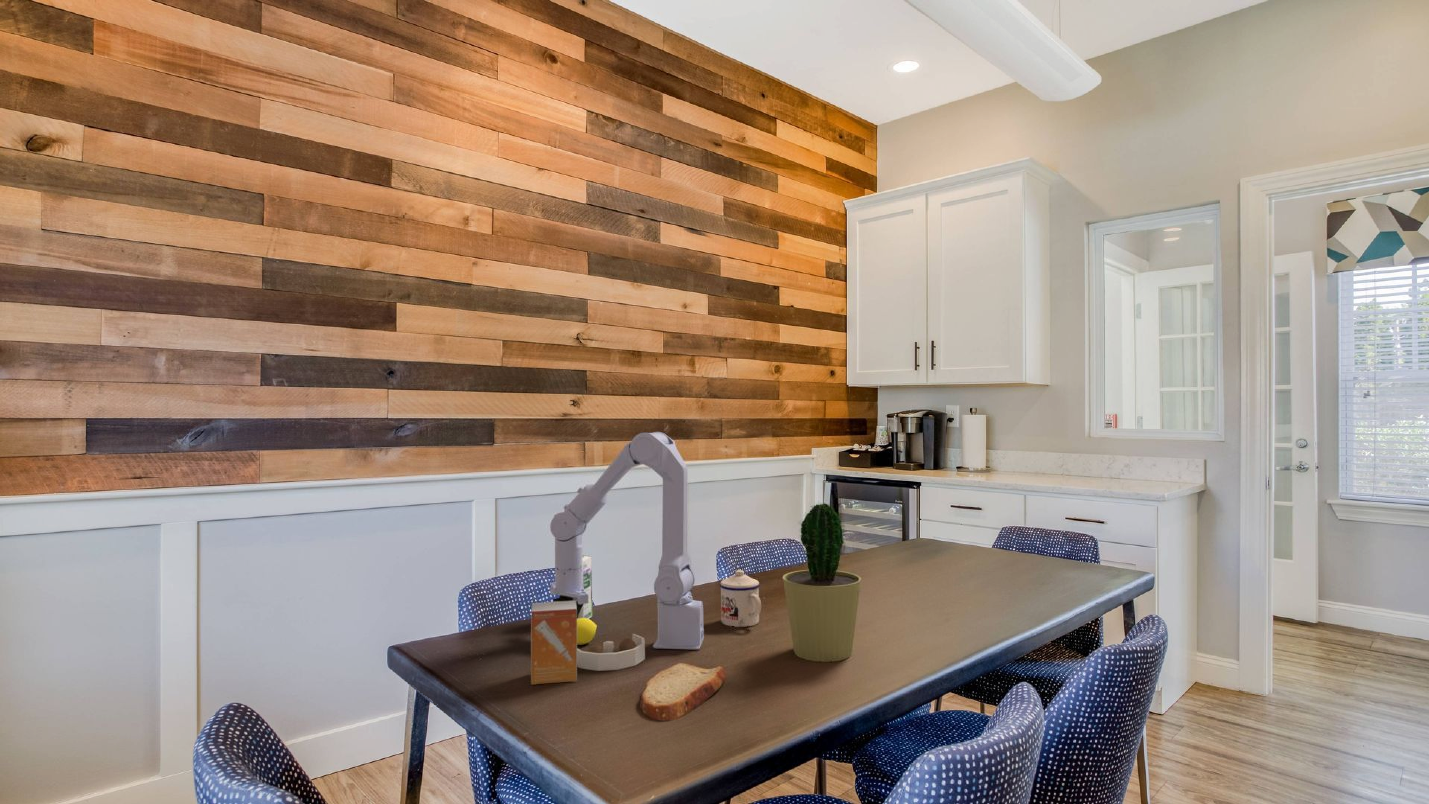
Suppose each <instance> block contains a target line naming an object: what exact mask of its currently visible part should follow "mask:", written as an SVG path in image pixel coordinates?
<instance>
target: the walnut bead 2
mask: <svg viewBox="0 0 1429 804" xmlns="http://www.w3.org/2000/svg"><path fill="white" fill-rule="evenodd" d="M635 647H636V644H635V642H634V641H633V640H632V638H629V637H627V638H623V639H622V640H621V641H620V642H619V644H618V652H621V651H626V650H630V649H633V648H635Z"/></svg>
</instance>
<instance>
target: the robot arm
mask: <svg viewBox="0 0 1429 804" xmlns="http://www.w3.org/2000/svg"><path fill="white" fill-rule="evenodd" d="M641 465H644V466H646V467H649V468H650V469H652V470H653V471H654V472H655V473H656V474H657V475H659V476H660V477H661V479H662V526H661V527H662V530H661V531H662V532H661V533H662V536H661V538H662V540H661V541H662V542H661V543H662V546H661V547H662V548H661V557H660V561H659V565H658V571H657V572H658V574H657V577H656V578H655V580H654V584H653V591H654V594H655V596H656V597H657V639H656V641H655V642H654V644H653V645H652V648H653V649H666V650H667V649H668V650H670V649H671V650H700V648H701V646H702V645H703V642H704V638H705V636H704V635H705V629H704V604H703V601H701V600H694V599H693V595H692V593H691V590H692V588H693V587H694V585H695V581H696V577H695V574H694V572H693V569H692V566H691V557H690V556H689V554H688V466H687V464H686V461H684V459H683V457H682V455H681V454H680V452H679V450H678V449H677V446H676V441H674V440H673V439H672V438H671V437H670V436H668V435H667V434H665V433H664V432H661V431H653V432H641V433H638V434H636V435H635V436H634V437H633V438H632V440H631V442H629V441H628V443H627V444H625V446H624V447H623V448H622V449H621V451H620V452H619V453H618V455H617V456H616V457H615V459H614V460H613V461H612V462H611V463H610V465H609V466H608V467H607V468H606V469H605V470H604V472H603V473H602V474H601V475H600V477H599V478H598V479H597V480H596V482H595V483H594V484H586V485H585V486H580V487H579V488H578V489H577V491H576V493H578V494H577V495H576V496H575V497H574V499H572V500H571V501H570V503H567V504H565V505H564V506H563V509H564V512H558V513H556V514H554V516H553V518H552V519H551V522H550V526H549V527H550V532H551V535H552V536H553V537H554V577H555V578H554V582H551V583H550V591H549V593H550V594H551V595H553V596H556V595H559V596H558V597H556V598H553V599H552V602H556V601H574V600H575V601H576V606H577V619H578V616H579V613H580V610H581V608H582V606H583V604H586V603H588V594H587V593H586V592H585V590H584V588H583V587H582V555H583V535H584V533H585V531H586V530H587V525H588V524H589V523H590V522H591V520H592V519H594V517H595V516H596V515H597V514H598V512H599V511H600V510H601V509H602V508H603V507H604V506H605V505H606V504H607V494H608V493H609V492H610V491H611V489H612V488H614V487H615V485H616V484H618V482H620V481H621V480H622V478H623V477H624V476H625V475H626V474H627V473H629V471H630V470H631V469H633V468H635V467H638V466H639V467H640V466H641Z"/></svg>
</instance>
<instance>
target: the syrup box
mask: <svg viewBox="0 0 1429 804" xmlns="http://www.w3.org/2000/svg"><path fill="white" fill-rule="evenodd" d="M592 572H593V571H592V556H590V555H584V554H582V587H583V588H584V590H585V592H586V593H587V594H588V603H586V604H583V606H582V608H581V610H580V613H579V616H578V619H579V618H587V619H590V620H591V618H593V616H594V615H593V614H594V613H593V582H592V581H593V577H592V575H593V573H592Z"/></svg>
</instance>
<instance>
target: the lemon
mask: <svg viewBox="0 0 1429 804" xmlns="http://www.w3.org/2000/svg"><path fill="white" fill-rule="evenodd" d="M597 627H598V625H597V624H596V623H595V622H594V621H592V620H591V618H590V619H587V618H579V619H577V646H583V645H585V644H587V643H590V642H591V641H592V640H593V639H594V638H595V636H596V633H597V632H596V631H597Z"/></svg>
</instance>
